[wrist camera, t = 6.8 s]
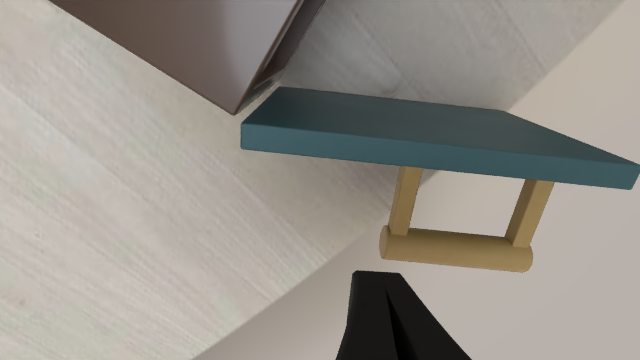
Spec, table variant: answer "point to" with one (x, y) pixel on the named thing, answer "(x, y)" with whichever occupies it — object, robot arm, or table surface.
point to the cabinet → (206, 40)
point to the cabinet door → (436, 163)
